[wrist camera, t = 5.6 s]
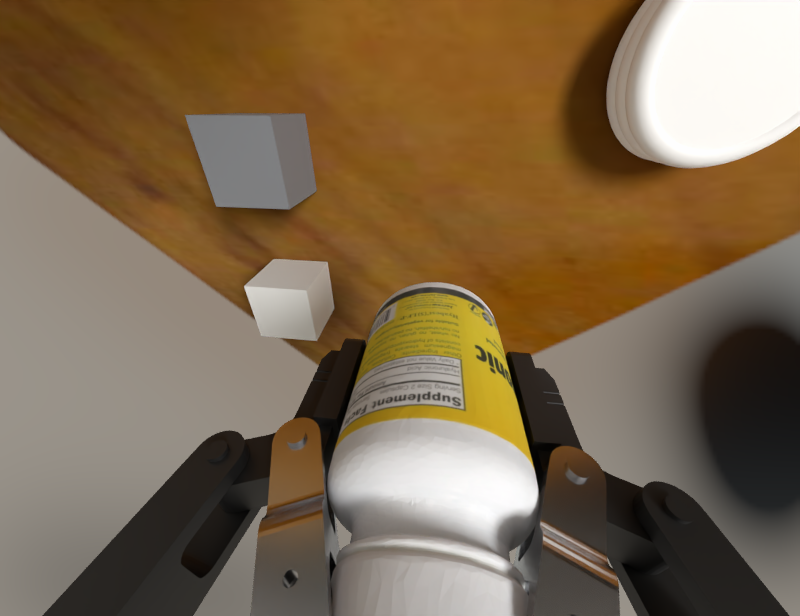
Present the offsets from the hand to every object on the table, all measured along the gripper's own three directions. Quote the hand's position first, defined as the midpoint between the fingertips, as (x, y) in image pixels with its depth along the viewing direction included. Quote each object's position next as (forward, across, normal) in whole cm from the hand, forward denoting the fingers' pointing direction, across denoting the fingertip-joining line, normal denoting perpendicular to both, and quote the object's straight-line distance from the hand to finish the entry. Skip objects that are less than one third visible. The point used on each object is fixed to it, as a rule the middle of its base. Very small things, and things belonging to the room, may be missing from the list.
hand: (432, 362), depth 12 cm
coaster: (+15, -14, -10) cm, 23 cm away
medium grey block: (+15, +12, -5) cm, 20 cm away
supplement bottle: (+2, 0, 0) cm, 2 cm away
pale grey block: (+15, +12, +6) cm, 20 cm away
